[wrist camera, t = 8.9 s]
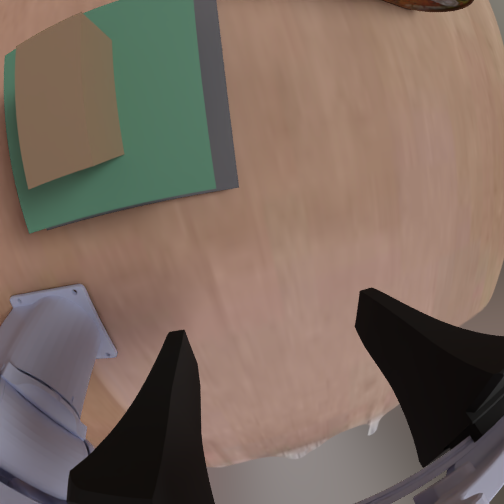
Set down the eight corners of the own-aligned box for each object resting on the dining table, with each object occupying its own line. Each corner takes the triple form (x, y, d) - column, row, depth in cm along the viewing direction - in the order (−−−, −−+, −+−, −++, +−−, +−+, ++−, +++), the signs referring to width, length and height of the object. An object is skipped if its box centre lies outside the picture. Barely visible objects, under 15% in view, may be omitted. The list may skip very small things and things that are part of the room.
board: (37, 227, 12) (-9, 267, 8) (13, 58, 7) (-37, 48, 3) (215, 184, 13) (223, 213, 9) (192, -8, 8) (192, -59, 4)
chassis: (53, 225, 16) (26, 247, 12) (28, 53, 10) (-1, 44, 6) (236, 184, 18) (246, 199, 14) (213, -5, 11) (218, -34, 8)
